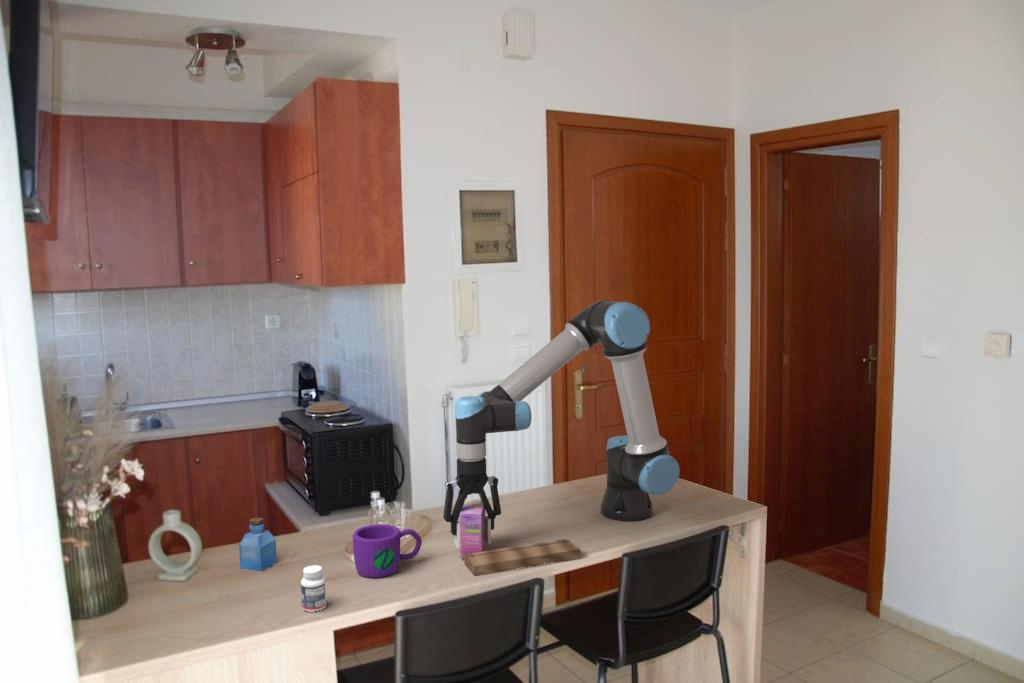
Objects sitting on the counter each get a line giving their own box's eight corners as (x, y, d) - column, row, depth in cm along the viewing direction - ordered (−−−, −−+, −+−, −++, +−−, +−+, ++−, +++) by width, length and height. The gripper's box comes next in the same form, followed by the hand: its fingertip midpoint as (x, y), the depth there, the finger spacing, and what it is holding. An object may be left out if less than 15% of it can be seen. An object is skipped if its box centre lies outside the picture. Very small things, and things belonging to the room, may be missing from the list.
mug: (362, 584, 187) (361, 543, 186) (348, 567, 197) (346, 528, 196) (431, 569, 196) (430, 529, 195) (413, 554, 206) (412, 516, 204)
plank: (566, 547, 209) (566, 538, 208) (580, 558, 201) (580, 548, 201) (464, 563, 199) (464, 553, 198) (474, 576, 191) (474, 565, 191)
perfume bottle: (276, 562, 201) (274, 516, 199) (261, 572, 195) (259, 525, 194) (256, 560, 203) (253, 514, 201) (240, 569, 197) (237, 522, 196)
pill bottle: (304, 602, 178) (302, 564, 177) (327, 601, 178) (326, 563, 177) (300, 613, 173) (298, 574, 172) (324, 612, 173) (322, 572, 172)
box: (482, 559, 200) (481, 513, 199) (460, 559, 201) (458, 513, 199) (486, 543, 211) (485, 500, 209) (465, 543, 211) (463, 500, 210)
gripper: (503, 450, 209) (505, 534, 212) (428, 458, 202) (430, 545, 205) (514, 456, 202) (515, 543, 205) (436, 465, 195) (438, 555, 198)
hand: (473, 544), depth 205 cm, fingers closed on box, 7 cm apart
